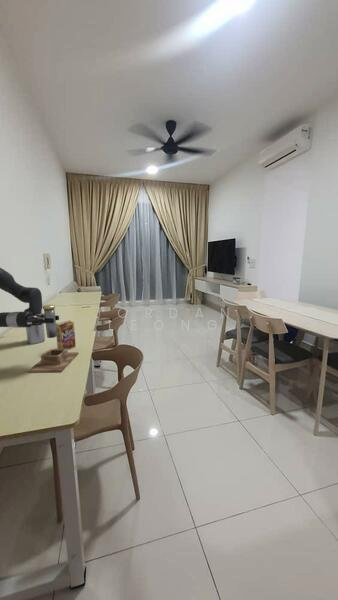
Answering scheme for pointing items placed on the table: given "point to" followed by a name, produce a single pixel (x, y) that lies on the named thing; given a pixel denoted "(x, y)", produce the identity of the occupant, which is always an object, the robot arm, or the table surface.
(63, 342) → the candy box
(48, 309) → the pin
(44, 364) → the socket block
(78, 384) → the table surface
